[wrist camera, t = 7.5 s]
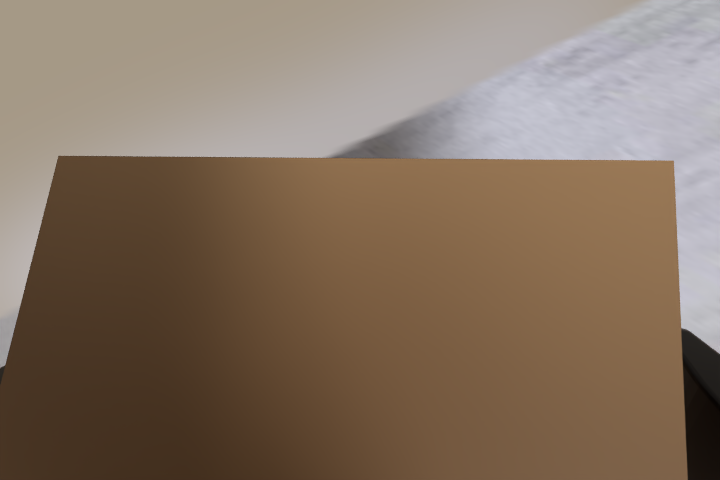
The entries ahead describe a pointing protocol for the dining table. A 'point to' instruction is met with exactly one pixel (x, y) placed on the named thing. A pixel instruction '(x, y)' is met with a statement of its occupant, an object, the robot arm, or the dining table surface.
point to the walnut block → (349, 322)
